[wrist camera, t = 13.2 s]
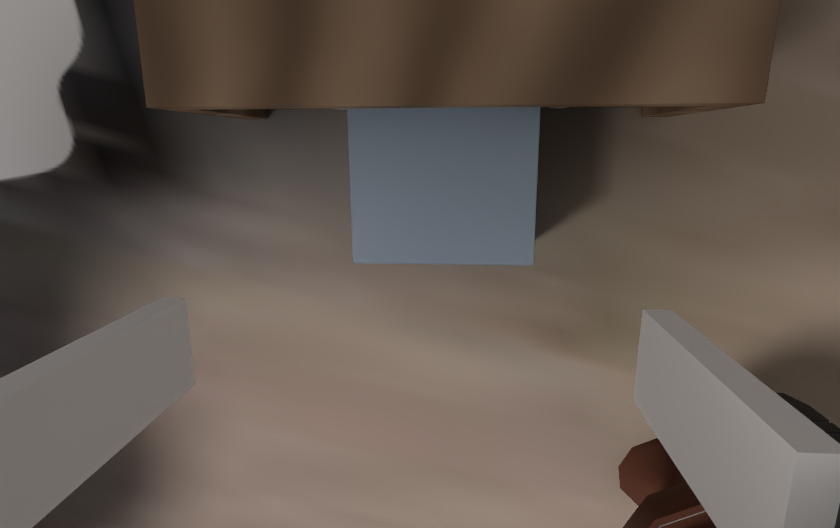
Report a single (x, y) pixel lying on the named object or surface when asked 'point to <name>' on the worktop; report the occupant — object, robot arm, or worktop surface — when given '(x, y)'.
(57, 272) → the worktop surface
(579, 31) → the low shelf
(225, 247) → the worktop surface
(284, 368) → the worktop surface
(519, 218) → the grey slate tile
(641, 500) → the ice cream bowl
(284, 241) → the worktop surface
